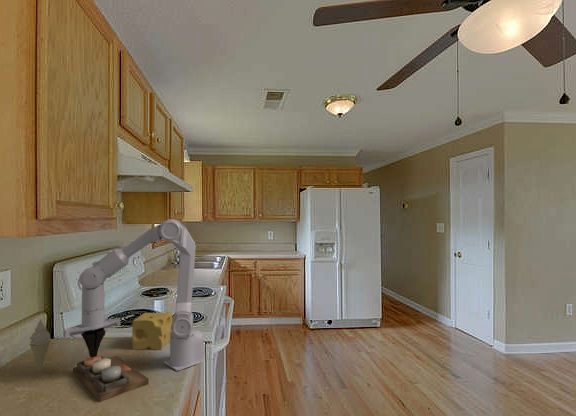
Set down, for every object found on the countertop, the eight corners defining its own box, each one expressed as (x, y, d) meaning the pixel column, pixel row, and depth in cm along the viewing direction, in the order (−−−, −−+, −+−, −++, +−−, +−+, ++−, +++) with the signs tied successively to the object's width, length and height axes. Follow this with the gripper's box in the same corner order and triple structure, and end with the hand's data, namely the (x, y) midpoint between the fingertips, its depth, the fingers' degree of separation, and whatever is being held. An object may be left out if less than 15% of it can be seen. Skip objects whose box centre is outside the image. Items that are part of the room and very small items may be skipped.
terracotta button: (98, 361, 105) (98, 354, 105) (103, 365, 102) (103, 358, 102) (81, 366, 101) (81, 359, 101) (86, 370, 98) (87, 363, 98)
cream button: (107, 364, 100) (107, 357, 100) (113, 369, 97) (113, 361, 97) (90, 369, 97) (90, 361, 97) (95, 374, 94) (95, 366, 94)
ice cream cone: (47, 365, 107) (47, 315, 107) (53, 369, 103) (53, 318, 104) (27, 370, 103) (27, 319, 103) (32, 375, 100) (33, 322, 100)
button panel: (116, 360, 110) (116, 350, 110) (148, 384, 95) (148, 372, 95) (72, 373, 101) (72, 362, 101) (100, 401, 86) (100, 389, 86)
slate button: (116, 371, 95) (116, 364, 95) (123, 377, 92) (123, 369, 92) (99, 377, 92) (99, 369, 92) (105, 383, 89) (105, 375, 89)
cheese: (162, 350, 118) (162, 320, 118) (130, 350, 118) (130, 320, 119) (172, 339, 129) (172, 311, 129) (143, 339, 129) (143, 311, 129)
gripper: (114, 301, 110) (114, 345, 110) (60, 311, 99) (59, 359, 99) (123, 305, 105) (123, 351, 105) (67, 316, 94) (67, 367, 94)
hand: (93, 356), depth 101 cm, fingers closed
